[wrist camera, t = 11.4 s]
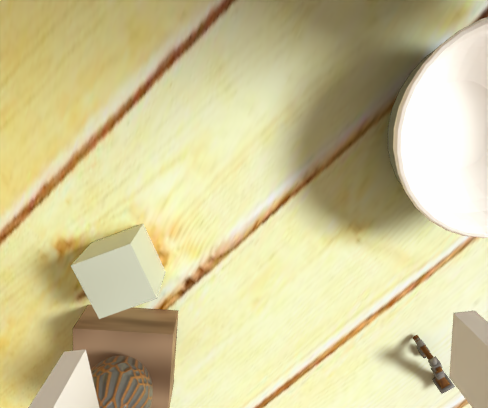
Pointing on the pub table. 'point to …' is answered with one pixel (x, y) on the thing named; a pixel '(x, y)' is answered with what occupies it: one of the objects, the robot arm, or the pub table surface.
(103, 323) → the plinth
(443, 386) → the wooden post with brackets
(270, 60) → the pub table surface
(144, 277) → the sage cube
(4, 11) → the pub table surface
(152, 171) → the pub table surface
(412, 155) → the bowl
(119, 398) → the vase
